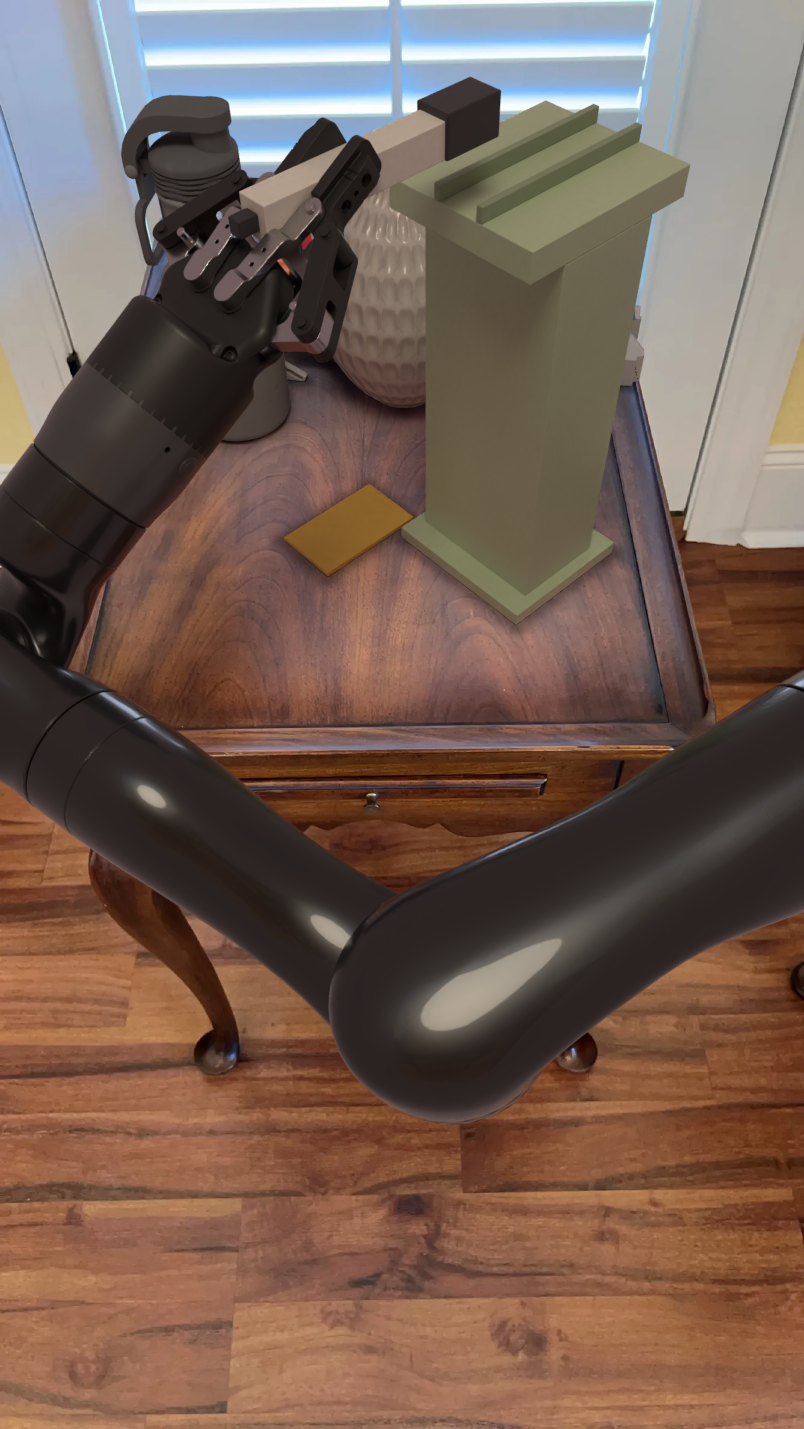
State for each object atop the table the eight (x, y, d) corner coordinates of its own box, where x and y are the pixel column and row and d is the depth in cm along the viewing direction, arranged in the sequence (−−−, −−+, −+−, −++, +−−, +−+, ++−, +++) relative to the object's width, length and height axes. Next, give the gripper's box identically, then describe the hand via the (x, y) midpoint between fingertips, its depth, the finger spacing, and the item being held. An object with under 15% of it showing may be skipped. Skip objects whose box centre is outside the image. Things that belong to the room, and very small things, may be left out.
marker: (252, 257, 48) (244, 208, 46) (222, 238, 49) (214, 189, 47) (499, 136, 55) (502, 89, 53) (468, 122, 56) (470, 75, 54)
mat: (327, 576, 85) (327, 573, 84) (284, 540, 87) (283, 537, 87) (413, 519, 88) (413, 516, 88) (369, 486, 91) (369, 483, 91)
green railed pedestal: (507, 631, 81) (547, 241, 54) (392, 542, 87) (377, 152, 60) (619, 546, 86) (707, 152, 59) (504, 468, 92) (536, 78, 65)
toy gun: (643, 361, 96) (649, 302, 101) (495, 347, 98) (509, 289, 103) (638, 388, 98) (644, 328, 104) (494, 373, 100) (507, 316, 106)
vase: (318, 345, 103) (294, 117, 85) (471, 331, 104) (480, 103, 86) (330, 447, 94) (307, 216, 76) (498, 430, 95) (515, 198, 77)
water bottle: (175, 440, 95) (95, 132, 72) (203, 377, 101) (137, 73, 78) (278, 449, 94) (230, 140, 71) (300, 385, 99) (263, 79, 77)
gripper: (178, 446, 45) (420, 130, 43) (23, 318, 51) (230, 36, 49) (264, 512, 51) (475, 241, 50) (117, 392, 57) (302, 147, 56)
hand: (352, 141), depth 50 cm, fingers closed on marker, 2 cm apart
